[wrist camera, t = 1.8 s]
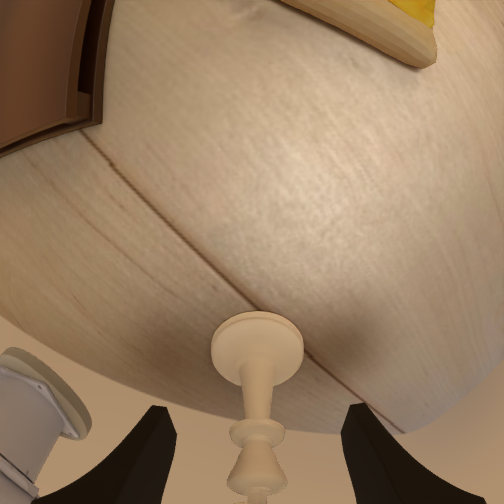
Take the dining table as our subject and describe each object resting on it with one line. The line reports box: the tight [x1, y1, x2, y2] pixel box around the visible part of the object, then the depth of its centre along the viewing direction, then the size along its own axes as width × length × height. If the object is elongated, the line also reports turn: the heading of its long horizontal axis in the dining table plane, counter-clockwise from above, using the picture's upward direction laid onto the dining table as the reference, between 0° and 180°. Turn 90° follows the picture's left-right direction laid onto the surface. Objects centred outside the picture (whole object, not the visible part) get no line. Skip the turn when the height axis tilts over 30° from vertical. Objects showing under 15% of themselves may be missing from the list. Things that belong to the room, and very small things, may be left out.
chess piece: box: [211, 311, 304, 504], centre depth 9 cm, size 5×5×10 cm
